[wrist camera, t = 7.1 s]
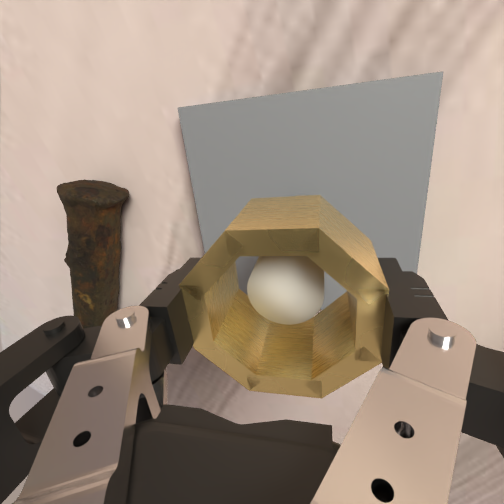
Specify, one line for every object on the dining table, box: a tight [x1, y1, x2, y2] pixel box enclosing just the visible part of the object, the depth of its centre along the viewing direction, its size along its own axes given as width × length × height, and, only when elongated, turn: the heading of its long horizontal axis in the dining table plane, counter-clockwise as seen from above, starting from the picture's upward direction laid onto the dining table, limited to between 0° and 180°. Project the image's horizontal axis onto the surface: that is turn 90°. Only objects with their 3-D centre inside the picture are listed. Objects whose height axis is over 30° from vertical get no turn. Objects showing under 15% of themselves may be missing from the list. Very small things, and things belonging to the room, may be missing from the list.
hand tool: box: [57, 180, 129, 329], centre depth 25 cm, size 19×4×5 cm, turn 164°
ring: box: [179, 195, 389, 398], centre depth 11 cm, size 6×6×4 cm
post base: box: [178, 72, 443, 325], centre depth 15 cm, size 14×14×10 cm
